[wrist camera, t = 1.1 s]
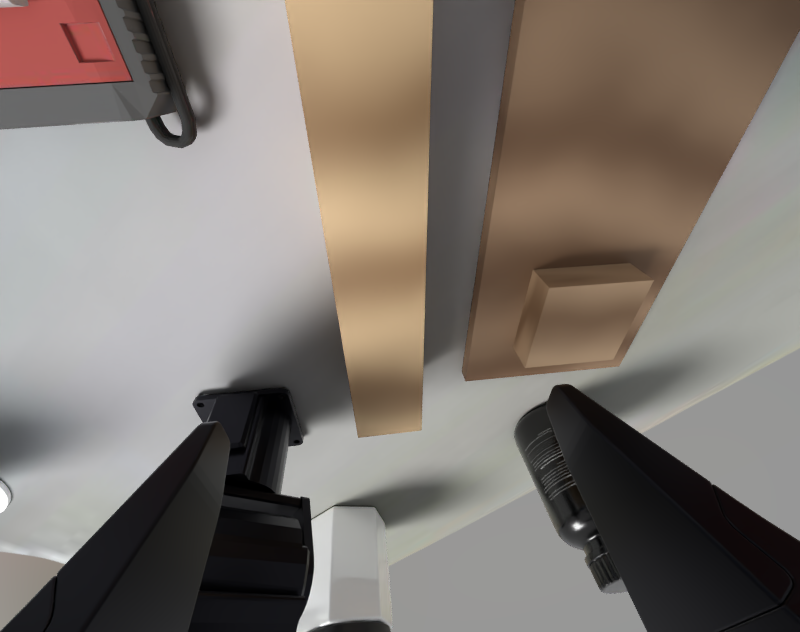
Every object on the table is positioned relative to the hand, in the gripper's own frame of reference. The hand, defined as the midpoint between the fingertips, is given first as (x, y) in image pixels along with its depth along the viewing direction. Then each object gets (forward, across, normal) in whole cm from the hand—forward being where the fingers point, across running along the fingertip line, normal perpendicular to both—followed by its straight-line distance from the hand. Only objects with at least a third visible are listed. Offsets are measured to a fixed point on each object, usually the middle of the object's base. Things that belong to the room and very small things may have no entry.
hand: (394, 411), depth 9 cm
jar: (+12, +5, +34) cm, 36 cm away
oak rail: (+12, 0, 0) cm, 12 cm away
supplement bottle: (+12, -15, +19) cm, 27 cm away
